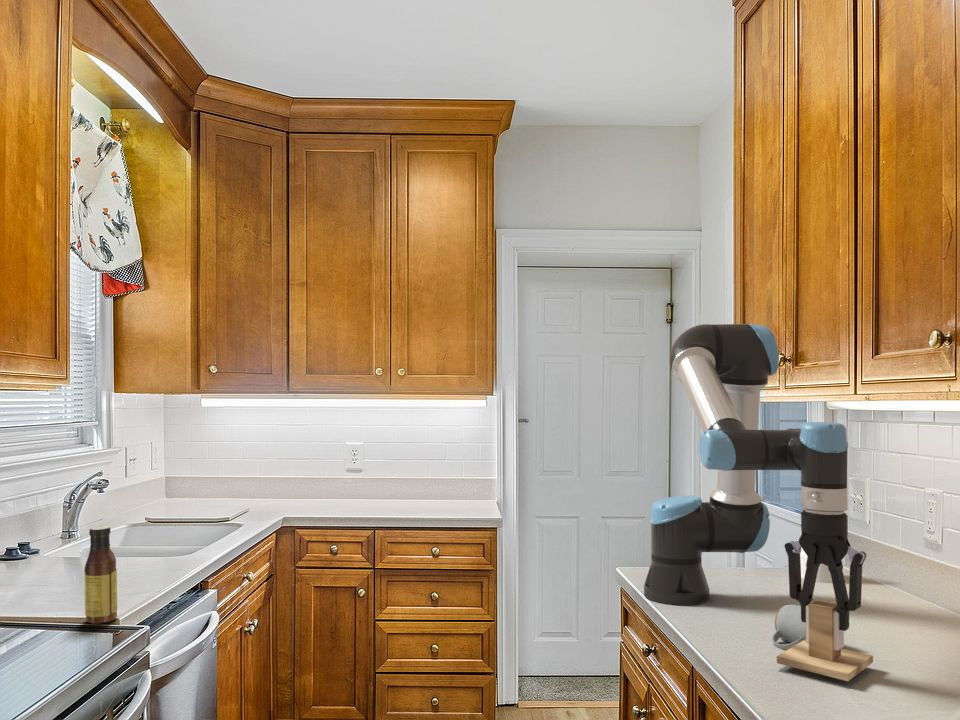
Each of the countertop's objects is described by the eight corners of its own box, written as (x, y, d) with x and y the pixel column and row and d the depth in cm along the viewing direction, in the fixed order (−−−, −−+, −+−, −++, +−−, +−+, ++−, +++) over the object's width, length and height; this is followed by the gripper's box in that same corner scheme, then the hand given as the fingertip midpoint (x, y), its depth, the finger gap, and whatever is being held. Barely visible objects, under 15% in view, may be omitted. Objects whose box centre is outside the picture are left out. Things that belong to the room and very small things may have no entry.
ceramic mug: (795, 636, 162) (794, 597, 162) (832, 647, 155) (831, 607, 155) (761, 646, 156) (760, 606, 156) (798, 658, 149) (797, 616, 149)
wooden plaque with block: (804, 646, 150) (804, 591, 150) (872, 662, 142) (872, 603, 142) (776, 663, 141) (776, 604, 141) (848, 681, 133) (847, 619, 133)
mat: (805, 657, 150) (805, 654, 150) (874, 673, 141) (874, 670, 141) (777, 673, 141) (777, 670, 141) (849, 692, 133) (849, 688, 133)
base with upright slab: (845, 579, 209) (844, 532, 209) (826, 584, 204) (825, 536, 204) (813, 572, 216) (812, 527, 217) (793, 577, 211) (793, 531, 211)
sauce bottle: (105, 614, 176) (106, 523, 177) (123, 619, 173) (124, 525, 174) (77, 622, 171) (78, 527, 171) (95, 627, 168) (96, 530, 168)
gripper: (767, 507, 145) (768, 638, 145) (867, 519, 133) (868, 662, 133) (785, 502, 150) (785, 629, 150) (883, 514, 139) (884, 651, 138)
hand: (824, 644), depth 142 cm, fingers closed on wooden plaque with block, 4 cm apart
